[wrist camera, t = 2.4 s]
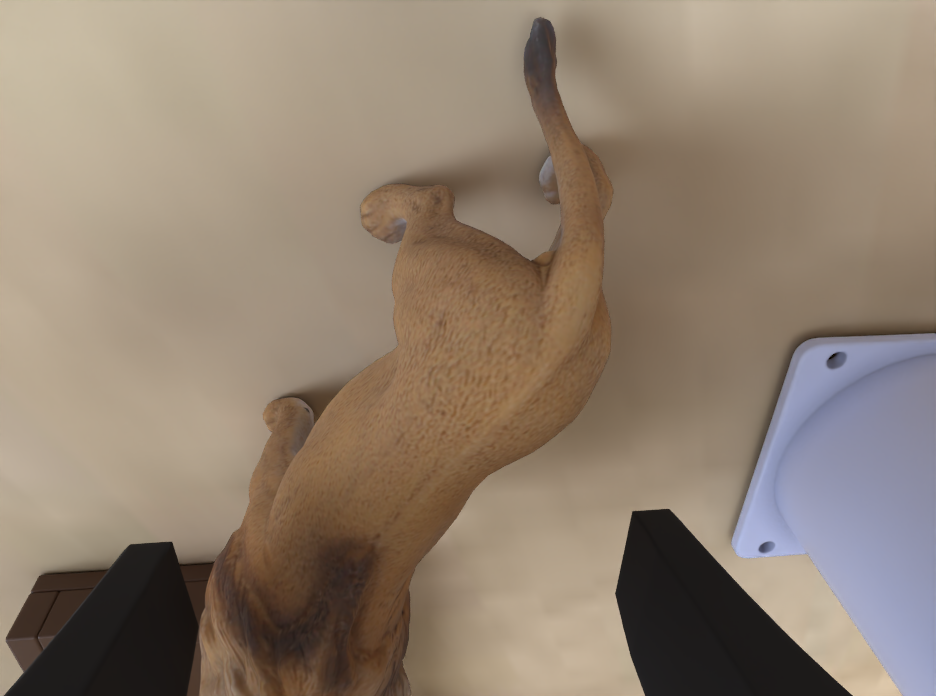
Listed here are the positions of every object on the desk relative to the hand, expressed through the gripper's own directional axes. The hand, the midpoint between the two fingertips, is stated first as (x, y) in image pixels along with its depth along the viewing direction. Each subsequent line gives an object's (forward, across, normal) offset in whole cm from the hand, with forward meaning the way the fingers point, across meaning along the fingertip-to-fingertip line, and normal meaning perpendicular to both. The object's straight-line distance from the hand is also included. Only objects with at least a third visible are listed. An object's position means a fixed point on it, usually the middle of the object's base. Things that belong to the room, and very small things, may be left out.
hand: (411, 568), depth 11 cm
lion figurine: (+7, 0, 0) cm, 7 cm away
